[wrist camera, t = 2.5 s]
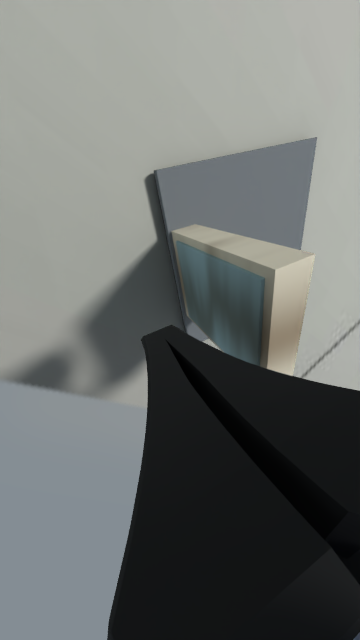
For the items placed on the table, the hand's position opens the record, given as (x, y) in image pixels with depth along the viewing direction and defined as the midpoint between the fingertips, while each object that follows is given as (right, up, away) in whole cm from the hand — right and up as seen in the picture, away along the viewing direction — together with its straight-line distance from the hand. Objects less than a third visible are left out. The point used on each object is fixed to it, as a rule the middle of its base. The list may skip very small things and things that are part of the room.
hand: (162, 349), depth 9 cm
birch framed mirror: (+1, +4, +6) cm, 7 cm away
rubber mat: (+5, +6, +7) cm, 11 cm away
